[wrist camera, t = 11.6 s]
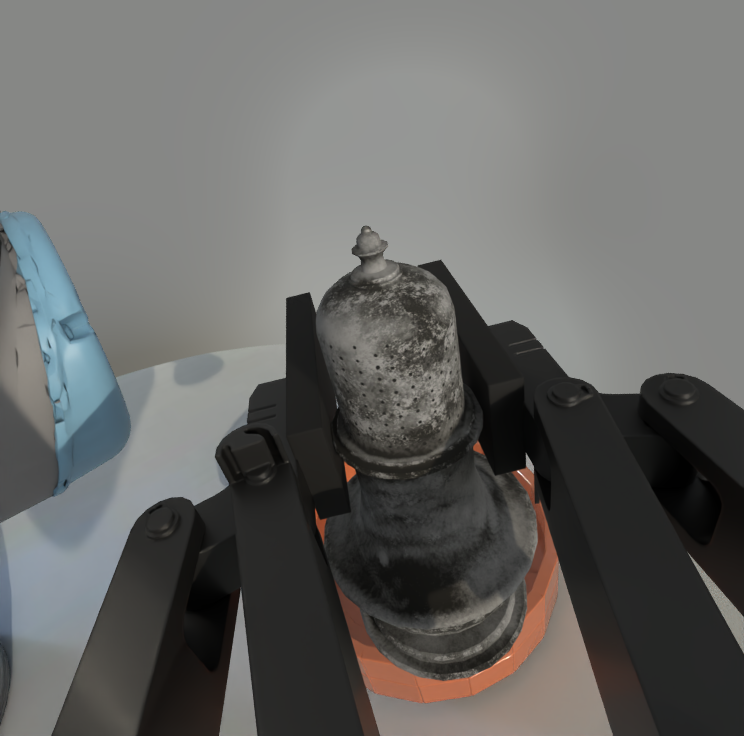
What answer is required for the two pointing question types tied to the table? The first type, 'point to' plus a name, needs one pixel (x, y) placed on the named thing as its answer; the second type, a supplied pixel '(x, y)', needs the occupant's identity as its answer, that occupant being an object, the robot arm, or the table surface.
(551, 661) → the table surface
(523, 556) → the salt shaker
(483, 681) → the bowl
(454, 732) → the table surface
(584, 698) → the table surface
